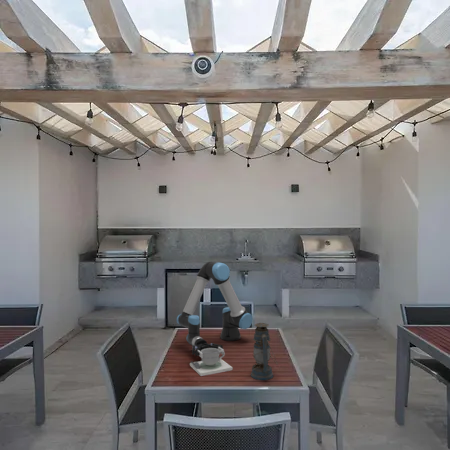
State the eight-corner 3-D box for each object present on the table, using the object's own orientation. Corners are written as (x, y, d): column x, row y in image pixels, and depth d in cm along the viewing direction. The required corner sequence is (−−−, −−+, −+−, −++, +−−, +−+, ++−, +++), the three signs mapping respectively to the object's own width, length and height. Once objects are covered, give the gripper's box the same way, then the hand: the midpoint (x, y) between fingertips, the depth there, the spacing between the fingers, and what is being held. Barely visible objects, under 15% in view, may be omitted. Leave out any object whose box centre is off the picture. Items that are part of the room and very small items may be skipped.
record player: (219, 360, 241) (219, 353, 241) (232, 370, 225) (232, 363, 225) (189, 365, 233) (189, 358, 233) (200, 376, 216) (200, 369, 216)
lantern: (247, 369, 225) (246, 319, 225) (270, 368, 227) (270, 317, 227) (255, 383, 206) (254, 327, 206) (280, 381, 208) (280, 326, 208)
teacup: (199, 366, 222) (199, 352, 222) (202, 359, 233) (202, 346, 233) (223, 367, 220) (223, 353, 220) (225, 360, 231) (225, 347, 231)
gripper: (217, 346, 250) (231, 356, 231) (181, 352, 239) (193, 363, 220) (217, 335, 250) (231, 344, 231) (180, 340, 239) (193, 350, 220)
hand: (212, 353), depth 226 cm, fingers closed on teacup, 13 cm apart
